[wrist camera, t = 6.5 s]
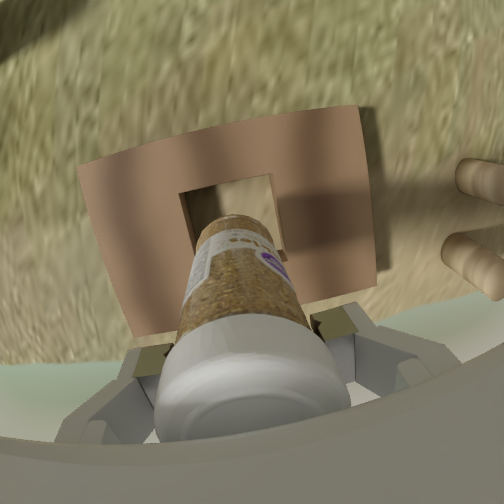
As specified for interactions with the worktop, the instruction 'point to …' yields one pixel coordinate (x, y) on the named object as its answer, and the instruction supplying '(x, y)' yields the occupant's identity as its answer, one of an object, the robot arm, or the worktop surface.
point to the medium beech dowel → (475, 265)
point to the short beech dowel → (481, 180)
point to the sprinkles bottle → (242, 344)
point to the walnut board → (225, 170)
